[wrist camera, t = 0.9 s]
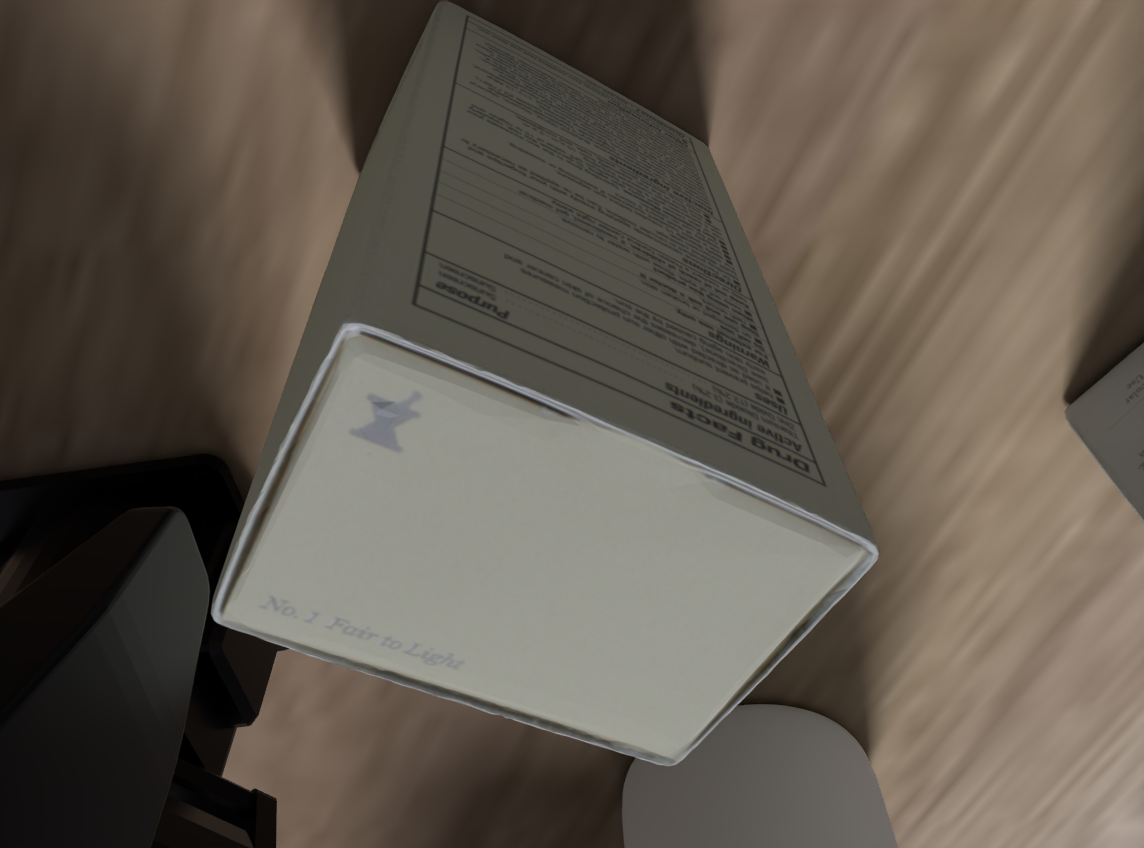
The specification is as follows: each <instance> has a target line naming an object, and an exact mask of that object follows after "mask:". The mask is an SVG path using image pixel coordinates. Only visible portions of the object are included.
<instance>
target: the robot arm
mask: <svg viewBox="0 0 1144 848" xmlns="http://www.w3.org/2000/svg"><path fill="white" fill-rule="evenodd" d="M199 472H204V473H207V474H209V475H211V476H212V477H213V479H210V478H205V477H203V476H201V475H200V473H199ZM243 507H244V502H243V500H242V498H241V495H240V493H239V491H238V489H237V486H236V484H235V482H234V480H233V477H232V475H231V473H230V471H229V468H228V467H227V465H226V464H225V462H224V461H222V460H221V459H219V458H218V457H216V456H213V455H210V454H198V455H191V456H184V457H176V458H169V459H162V460H154V461H147V462H140V463H132V464H125V465H118V466H110V467H103V468H96V469H88V470H81V471H74V472H66V473H59V474H52V475H44V476H37V477H30V478H22V479H15V480H8V481H0V848H276V815H277V800H276V798H274V797H272V796H270V795H268V794H266V793H264V792H262V791H259V790H257V789H253V790H252V791H250V790H248V789H245V788H243V787H241V786H239V785H237V784H235V783H233V782H231V781H229V780H227V779H225V778H223V777H222V774H223V771H224V768H225V765H226V761H227V758H228V755H229V752H230V748H231V745H232V742H233V739H234V735H235V732H236V729H237V727H245V726H250V725H252V723H253V722H254V721H255V719H256V718H257V717H258V715H259V712H260V708H261V705H262V701H263V698H264V694H265V691H266V688H267V684H268V681H269V677H270V674H271V670H272V667H273V664H274V660H275V657H276V653H277V651H283V650H286V649H289V648H287V647H284V646H281V645H278V644H274V643H271V642H268V641H266V640H263V639H261V638H258V637H256V636H253V635H250V634H247V633H243V632H240V631H237V630H234V629H231V628H228V627H226V626H223V625H221V624H219V623H217V622H215V621H214V619H213V617H212V615H211V608H212V602H213V596H214V593H215V590H216V587H217V584H218V581H219V578H220V575H221V572H222V569H223V566H224V563H225V560H226V557H227V554H228V551H229V548H230V545H231V542H232V539H233V537H234V534H235V531H236V528H237V525H238V522H239V519H240V516H241V513H242V510H243Z"/></svg>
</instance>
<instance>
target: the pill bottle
mask: <svg viewBox="0 0 1144 848" xmlns="http://www.w3.org/2000/svg"><path fill="white" fill-rule="evenodd" d="M622 824H623V838H624V848H898V845H897V842H896V839H895V835H894V832H893V829H892V826H891V823H890V819H889V816H888V813H887V810H886V807H885V803H884V800H883V797H882V794H881V791H880V787H879V784H878V781H877V778H876V775H875V773H874V771H873V769H872V767H871V764H870V762H869V759H868V757H867V755H866V753H865V752H864V750H863V748H862V747H861V745H860V744H859V743H858V741H857V740H856V739H855V738H854V737H853V736H852V735H851V734H850V733H849V732H848V731H847V730H846V729H844V728H843V727H842V726H840V725H839V724H837V723H836V722H834V721H832V720H831V719H829V718H827V717H824V716H822V715H820V714H817V713H814V712H811V711H808V710H805V709H800V708H796V707H790V706H783V705H771V704H752V705H739V706H736V707H735V708H734V709H733V710H732V711H731V712H730V713H729V714H728V715H727V716H726V717H725V718H724V719H722V720H721V721H720V722H719V723H718V724H717V725H716V727H715V728H714V729H713V730H712V731H711V732H710V733H709V734H708V735H707V736H706V737H705V738H704V739H703V740H702V741H701V742H700V743H699V744H698V745H697V746H696V747H695V748H694V749H693V750H692V751H691V752H690V753H689V754H688V755H687V756H686V757H685V758H684V759H683V760H682V761H680V762H679V763H677V764H676V765H671V766H664V765H657V764H655V763H652V762H650V761H646V760H642V759H639V758H635V759H634V761H633V763H632V764H631V766H630V768H629V770H628V773H627V776H626V779H625V782H624V787H623V796H622Z"/></svg>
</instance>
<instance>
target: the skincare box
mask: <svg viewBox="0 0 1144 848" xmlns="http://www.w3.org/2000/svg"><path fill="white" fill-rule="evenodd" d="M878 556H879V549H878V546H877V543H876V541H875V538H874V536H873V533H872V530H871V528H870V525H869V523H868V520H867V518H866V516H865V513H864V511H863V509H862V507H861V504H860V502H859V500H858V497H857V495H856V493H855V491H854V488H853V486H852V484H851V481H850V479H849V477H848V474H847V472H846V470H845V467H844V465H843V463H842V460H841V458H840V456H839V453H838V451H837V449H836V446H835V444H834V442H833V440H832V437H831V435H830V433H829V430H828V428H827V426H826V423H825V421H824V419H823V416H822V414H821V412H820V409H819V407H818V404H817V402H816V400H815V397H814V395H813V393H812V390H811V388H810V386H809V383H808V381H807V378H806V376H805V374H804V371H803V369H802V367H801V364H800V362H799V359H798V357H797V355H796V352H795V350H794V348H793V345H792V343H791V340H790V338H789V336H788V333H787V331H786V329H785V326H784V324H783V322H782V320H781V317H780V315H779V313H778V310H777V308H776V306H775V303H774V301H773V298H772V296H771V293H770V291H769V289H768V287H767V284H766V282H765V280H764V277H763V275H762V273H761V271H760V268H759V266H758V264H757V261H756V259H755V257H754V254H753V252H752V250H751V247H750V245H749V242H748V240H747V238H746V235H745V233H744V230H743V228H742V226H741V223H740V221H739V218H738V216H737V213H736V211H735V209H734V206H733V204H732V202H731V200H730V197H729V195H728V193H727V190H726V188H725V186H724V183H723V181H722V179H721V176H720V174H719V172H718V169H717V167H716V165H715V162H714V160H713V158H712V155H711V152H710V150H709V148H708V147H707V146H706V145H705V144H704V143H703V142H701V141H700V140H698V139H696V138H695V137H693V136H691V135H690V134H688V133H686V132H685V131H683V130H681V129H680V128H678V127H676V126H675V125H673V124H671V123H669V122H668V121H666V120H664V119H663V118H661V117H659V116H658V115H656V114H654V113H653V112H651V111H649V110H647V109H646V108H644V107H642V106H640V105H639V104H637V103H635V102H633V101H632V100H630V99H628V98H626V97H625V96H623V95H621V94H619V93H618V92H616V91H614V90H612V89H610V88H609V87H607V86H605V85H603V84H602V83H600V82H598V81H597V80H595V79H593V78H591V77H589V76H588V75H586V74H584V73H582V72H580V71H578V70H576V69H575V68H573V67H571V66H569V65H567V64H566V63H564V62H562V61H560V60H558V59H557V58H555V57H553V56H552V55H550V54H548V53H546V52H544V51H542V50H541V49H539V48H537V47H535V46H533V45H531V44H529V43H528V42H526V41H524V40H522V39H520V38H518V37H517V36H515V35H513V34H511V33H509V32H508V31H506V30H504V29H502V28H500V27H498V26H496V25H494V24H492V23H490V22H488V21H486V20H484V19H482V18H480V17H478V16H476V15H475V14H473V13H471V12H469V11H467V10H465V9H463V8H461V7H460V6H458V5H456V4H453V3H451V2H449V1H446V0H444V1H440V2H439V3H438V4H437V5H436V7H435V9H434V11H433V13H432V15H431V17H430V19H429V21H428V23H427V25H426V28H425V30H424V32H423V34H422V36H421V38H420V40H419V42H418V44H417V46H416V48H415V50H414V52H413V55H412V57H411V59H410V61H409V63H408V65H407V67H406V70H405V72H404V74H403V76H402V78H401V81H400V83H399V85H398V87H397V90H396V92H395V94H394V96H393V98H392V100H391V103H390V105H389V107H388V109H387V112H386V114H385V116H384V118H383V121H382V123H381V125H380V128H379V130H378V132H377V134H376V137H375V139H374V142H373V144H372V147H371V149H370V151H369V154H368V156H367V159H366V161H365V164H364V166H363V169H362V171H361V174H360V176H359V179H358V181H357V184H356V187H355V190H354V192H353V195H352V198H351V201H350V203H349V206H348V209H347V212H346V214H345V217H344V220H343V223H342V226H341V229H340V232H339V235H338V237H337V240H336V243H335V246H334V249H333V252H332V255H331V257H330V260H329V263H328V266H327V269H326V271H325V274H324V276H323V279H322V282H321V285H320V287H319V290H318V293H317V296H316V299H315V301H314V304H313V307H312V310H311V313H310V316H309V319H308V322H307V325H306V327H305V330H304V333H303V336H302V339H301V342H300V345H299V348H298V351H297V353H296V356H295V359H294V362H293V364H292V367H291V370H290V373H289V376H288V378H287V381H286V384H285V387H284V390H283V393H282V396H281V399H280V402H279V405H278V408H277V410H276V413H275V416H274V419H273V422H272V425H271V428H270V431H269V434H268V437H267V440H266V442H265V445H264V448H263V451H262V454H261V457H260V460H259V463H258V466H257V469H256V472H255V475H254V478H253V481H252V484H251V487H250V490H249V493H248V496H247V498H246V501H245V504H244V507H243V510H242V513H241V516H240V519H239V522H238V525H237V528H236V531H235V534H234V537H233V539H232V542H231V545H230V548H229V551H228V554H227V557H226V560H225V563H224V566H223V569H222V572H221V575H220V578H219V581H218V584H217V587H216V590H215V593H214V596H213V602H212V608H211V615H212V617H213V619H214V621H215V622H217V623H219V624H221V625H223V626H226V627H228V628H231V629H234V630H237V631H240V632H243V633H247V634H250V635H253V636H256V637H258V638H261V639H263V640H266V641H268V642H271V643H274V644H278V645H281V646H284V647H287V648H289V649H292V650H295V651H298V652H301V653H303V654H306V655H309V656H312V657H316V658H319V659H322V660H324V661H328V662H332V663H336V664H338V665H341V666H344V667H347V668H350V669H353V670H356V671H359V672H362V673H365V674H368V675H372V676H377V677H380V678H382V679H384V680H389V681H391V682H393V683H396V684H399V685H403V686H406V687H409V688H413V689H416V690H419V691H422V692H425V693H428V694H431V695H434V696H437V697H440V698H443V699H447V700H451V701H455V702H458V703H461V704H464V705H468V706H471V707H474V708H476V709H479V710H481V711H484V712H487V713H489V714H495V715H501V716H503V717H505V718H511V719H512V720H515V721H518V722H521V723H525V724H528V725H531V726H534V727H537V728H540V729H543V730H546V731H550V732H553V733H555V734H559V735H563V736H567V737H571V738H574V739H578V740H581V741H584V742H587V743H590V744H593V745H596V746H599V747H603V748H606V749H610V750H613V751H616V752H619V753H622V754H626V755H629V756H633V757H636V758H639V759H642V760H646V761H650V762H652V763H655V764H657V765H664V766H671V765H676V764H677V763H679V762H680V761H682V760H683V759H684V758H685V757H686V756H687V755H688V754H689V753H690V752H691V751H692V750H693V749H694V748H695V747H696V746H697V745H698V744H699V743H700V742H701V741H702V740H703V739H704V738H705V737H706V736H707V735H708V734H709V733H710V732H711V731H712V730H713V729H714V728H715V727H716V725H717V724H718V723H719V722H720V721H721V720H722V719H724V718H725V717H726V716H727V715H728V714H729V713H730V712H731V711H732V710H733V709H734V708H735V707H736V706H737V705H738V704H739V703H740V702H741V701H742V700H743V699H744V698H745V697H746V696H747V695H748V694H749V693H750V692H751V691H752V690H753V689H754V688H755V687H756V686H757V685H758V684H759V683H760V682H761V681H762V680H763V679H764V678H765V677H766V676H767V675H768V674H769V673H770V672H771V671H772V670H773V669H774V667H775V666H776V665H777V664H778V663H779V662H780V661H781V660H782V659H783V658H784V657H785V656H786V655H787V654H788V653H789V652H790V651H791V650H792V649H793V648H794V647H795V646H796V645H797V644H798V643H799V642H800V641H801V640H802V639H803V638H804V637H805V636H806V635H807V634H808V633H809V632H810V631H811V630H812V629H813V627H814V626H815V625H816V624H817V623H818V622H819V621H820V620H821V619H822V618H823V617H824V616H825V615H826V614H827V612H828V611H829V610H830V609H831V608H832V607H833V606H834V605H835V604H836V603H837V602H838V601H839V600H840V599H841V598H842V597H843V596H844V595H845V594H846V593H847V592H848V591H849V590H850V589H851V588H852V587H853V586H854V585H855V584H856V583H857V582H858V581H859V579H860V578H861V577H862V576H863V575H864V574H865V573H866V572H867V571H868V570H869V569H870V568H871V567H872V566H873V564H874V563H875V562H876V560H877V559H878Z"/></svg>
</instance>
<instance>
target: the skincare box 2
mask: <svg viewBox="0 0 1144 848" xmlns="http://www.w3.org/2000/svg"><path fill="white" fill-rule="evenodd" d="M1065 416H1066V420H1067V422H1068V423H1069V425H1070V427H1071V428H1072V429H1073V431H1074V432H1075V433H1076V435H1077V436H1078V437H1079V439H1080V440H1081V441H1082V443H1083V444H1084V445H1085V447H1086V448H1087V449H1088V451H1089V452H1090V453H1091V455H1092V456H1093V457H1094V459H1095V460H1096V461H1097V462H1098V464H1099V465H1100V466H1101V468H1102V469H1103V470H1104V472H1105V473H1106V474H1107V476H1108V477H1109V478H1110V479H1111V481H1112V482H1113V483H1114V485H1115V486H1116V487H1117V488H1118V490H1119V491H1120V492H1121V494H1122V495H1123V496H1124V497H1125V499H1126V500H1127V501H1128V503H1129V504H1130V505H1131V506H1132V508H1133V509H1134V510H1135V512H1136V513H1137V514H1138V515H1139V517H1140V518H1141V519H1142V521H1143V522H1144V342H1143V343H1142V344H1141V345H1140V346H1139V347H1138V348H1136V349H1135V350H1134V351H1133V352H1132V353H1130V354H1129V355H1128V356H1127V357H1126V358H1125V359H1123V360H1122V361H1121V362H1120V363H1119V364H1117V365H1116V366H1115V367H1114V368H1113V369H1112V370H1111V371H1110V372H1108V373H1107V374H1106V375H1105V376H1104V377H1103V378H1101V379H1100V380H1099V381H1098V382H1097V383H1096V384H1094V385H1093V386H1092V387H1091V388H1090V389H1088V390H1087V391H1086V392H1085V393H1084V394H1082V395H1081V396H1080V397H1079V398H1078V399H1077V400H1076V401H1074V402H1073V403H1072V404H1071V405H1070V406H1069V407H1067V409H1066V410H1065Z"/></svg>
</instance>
